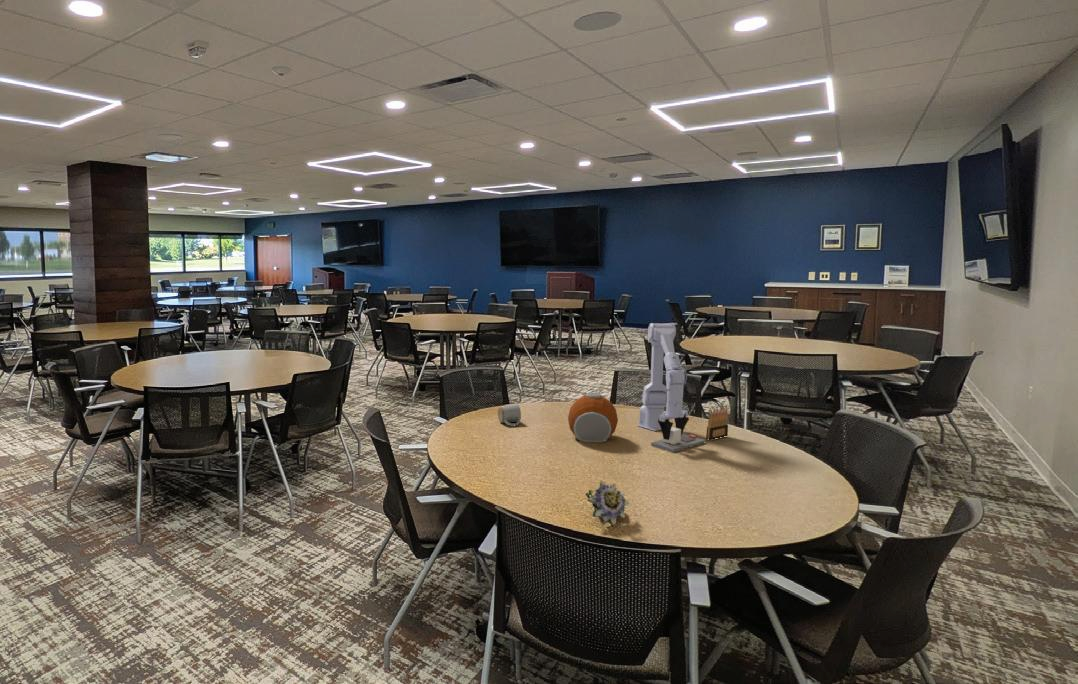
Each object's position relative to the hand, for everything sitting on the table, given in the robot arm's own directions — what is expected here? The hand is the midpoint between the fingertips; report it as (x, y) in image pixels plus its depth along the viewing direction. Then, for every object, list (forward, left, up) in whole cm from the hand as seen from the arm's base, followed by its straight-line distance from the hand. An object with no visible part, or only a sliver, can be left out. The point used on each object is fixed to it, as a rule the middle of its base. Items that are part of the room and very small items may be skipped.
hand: (672, 437), depth 214 cm
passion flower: (+28, -65, -4) cm, 71 cm away
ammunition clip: (+4, +23, -4) cm, 24 cm away
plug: (0, 0, -3) cm, 3 cm away
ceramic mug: (-59, -31, -4) cm, 67 cm away
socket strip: (0, +4, -3) cm, 5 cm away
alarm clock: (-25, -17, -4) cm, 30 cm away
